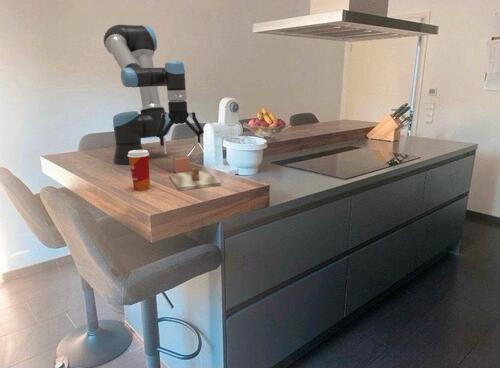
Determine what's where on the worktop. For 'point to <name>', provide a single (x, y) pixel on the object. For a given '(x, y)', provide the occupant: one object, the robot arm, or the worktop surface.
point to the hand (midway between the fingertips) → (181, 152)
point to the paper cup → (139, 169)
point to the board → (189, 184)
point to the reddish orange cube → (181, 164)
